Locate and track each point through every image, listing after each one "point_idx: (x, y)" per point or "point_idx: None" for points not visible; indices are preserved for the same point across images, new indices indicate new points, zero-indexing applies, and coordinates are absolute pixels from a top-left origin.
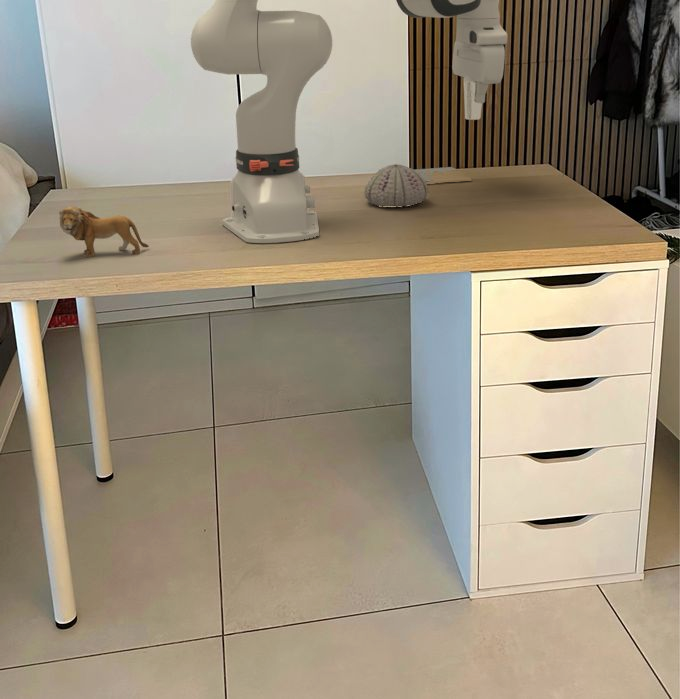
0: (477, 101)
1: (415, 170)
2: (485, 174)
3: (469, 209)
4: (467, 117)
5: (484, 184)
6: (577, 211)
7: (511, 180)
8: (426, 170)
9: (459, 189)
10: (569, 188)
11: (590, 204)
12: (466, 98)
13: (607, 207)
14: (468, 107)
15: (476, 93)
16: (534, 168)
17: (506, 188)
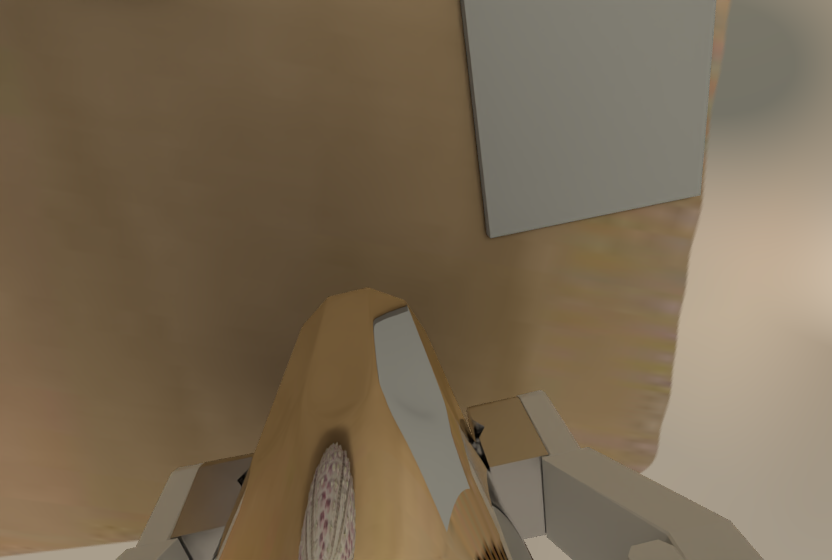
0: (172, 479)
1: (697, 18)
2: (586, 299)
3: (7, 141)
4: (322, 306)
5: (434, 270)
6: (39, 470)
7: (477, 363)
8: (677, 72)
9: (365, 164)
10: None
11: (136, 510)
12: (302, 394)
13: (102, 540)
14: (305, 357)
15: (155, 553)
16: (620, 447)
17: None
